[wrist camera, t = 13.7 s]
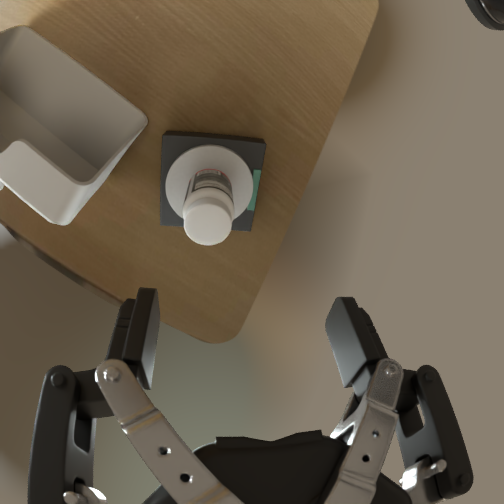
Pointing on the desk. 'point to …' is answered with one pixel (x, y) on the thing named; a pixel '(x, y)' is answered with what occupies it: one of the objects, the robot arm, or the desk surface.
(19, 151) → the tank
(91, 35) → the desk surface
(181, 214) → the scale
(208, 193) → the pill bottle
